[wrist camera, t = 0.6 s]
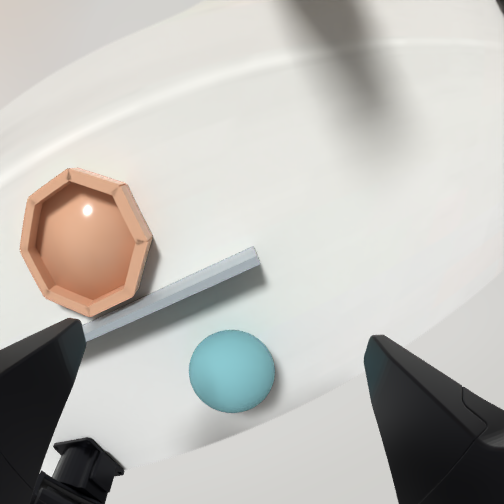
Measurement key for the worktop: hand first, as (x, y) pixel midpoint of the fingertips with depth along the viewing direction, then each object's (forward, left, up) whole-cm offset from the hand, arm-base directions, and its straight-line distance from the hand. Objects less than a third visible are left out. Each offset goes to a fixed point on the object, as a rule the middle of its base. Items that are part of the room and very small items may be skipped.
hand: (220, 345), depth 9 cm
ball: (-3, -8, -11) cm, 14 cm away
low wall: (-7, -2, -14) cm, 16 cm away
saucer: (-9, +4, -14) cm, 17 cm away
